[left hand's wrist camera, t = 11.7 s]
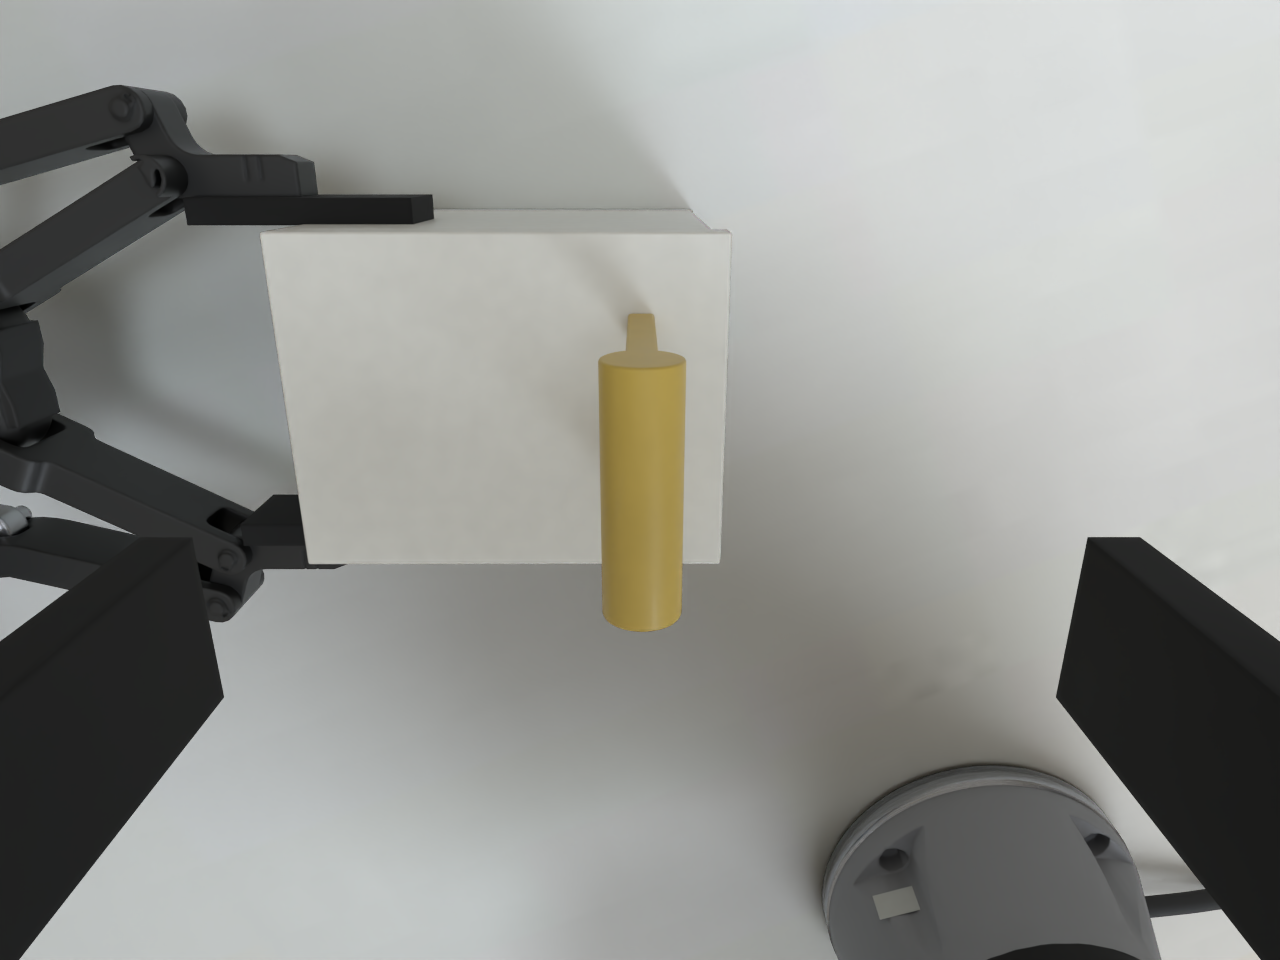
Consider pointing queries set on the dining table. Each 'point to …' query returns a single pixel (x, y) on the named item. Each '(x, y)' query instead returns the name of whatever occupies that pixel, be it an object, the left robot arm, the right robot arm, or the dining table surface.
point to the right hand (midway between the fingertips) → (436, 374)
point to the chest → (541, 220)
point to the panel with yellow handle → (509, 399)
